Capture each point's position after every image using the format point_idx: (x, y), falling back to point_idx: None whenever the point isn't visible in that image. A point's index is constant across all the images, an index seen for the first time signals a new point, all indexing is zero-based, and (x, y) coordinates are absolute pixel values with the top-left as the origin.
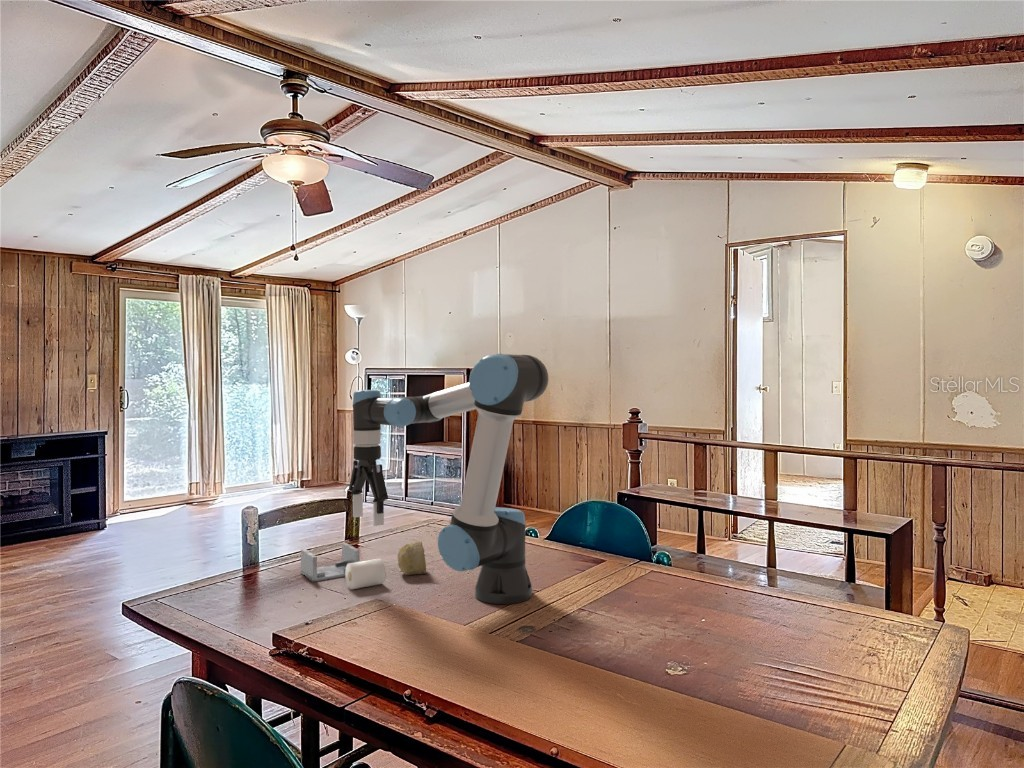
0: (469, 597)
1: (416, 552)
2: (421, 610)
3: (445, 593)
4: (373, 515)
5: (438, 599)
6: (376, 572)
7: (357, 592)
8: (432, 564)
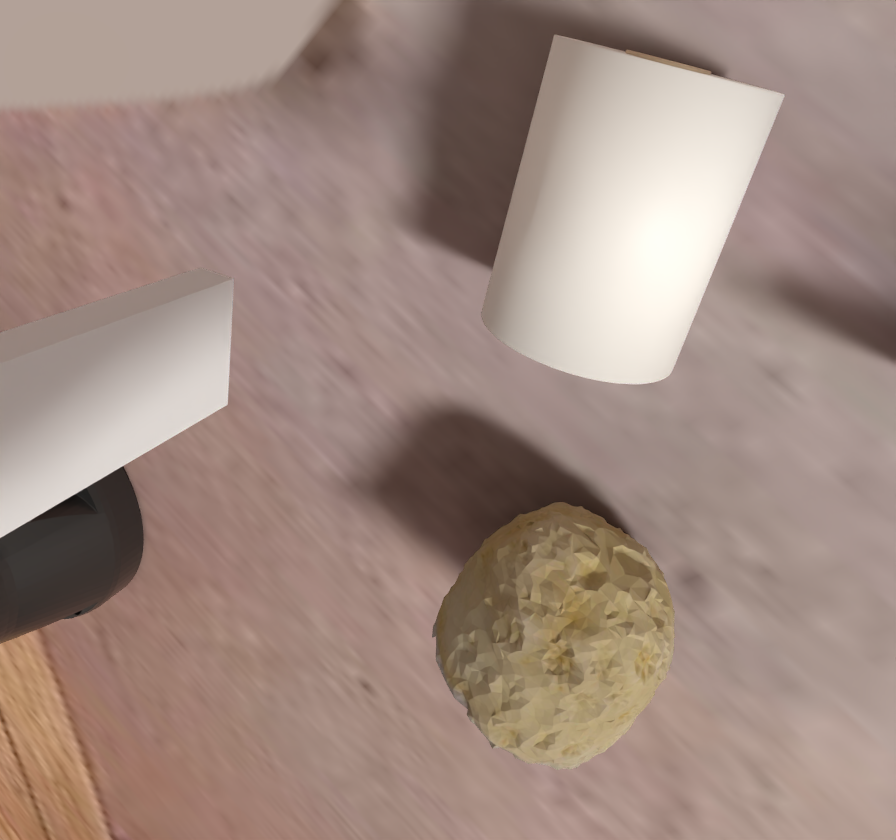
0: None
1: (465, 620)
2: (64, 111)
3: None
4: (127, 316)
5: None
6: (501, 237)
7: None
8: (634, 754)
